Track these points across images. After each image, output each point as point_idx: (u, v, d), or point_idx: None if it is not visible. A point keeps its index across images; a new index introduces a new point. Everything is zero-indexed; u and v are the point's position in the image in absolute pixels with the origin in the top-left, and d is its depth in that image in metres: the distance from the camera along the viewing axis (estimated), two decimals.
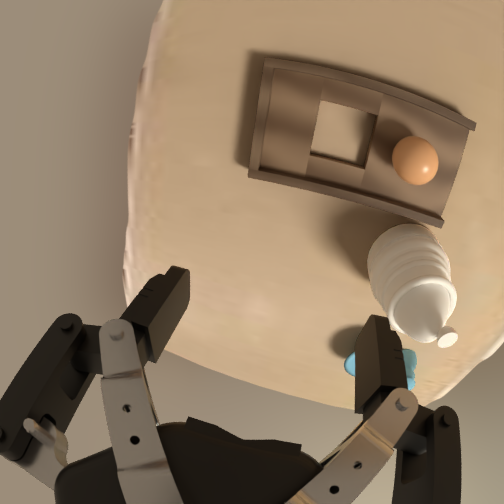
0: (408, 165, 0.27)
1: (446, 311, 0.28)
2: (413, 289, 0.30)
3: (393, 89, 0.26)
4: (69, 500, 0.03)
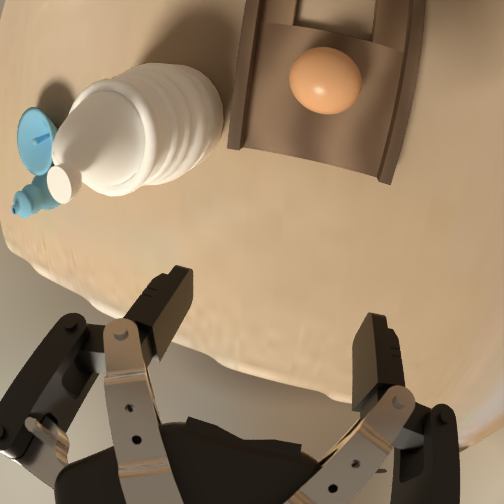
0: (322, 58, 0.17)
1: (106, 173, 0.18)
2: (128, 103, 0.17)
3: (415, 61, 0.17)
4: (69, 500, 0.04)
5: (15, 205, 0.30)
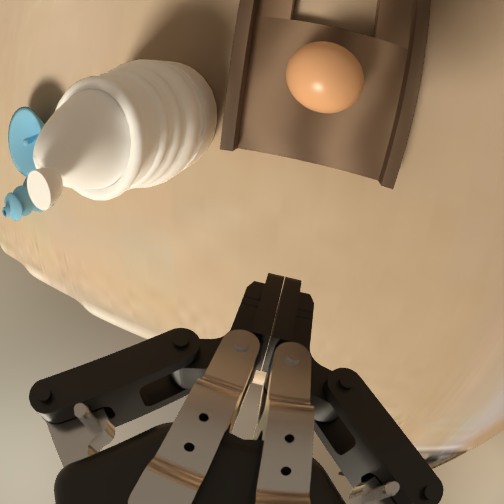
0: (321, 52, 0.15)
1: (89, 176, 0.16)
2: (113, 102, 0.16)
3: (420, 58, 0.16)
4: (68, 487, 0.04)
5: (6, 207, 0.29)
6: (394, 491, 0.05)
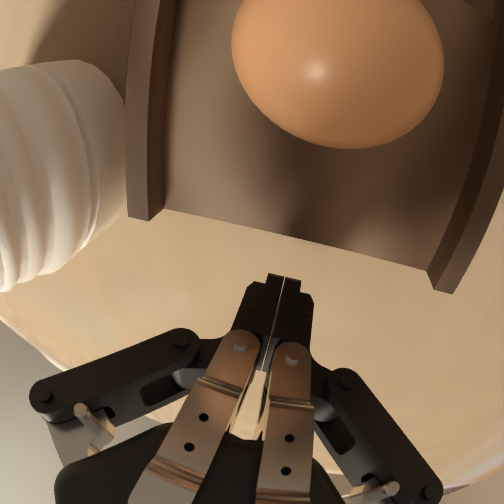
0: None
1: None
2: None
3: None
4: (68, 487, 0.04)
5: None
6: (394, 491, 0.05)
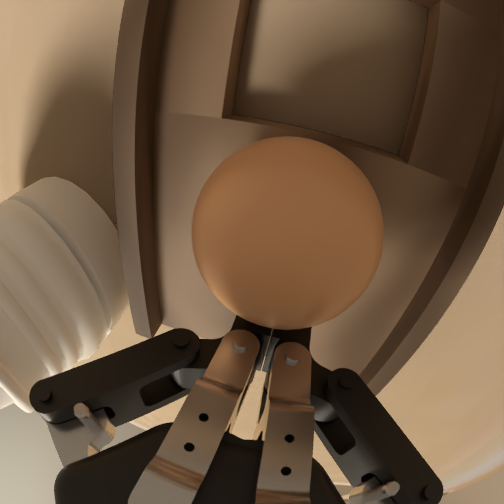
0: (282, 148, 0.07)
1: None
2: None
3: (487, 227, 0.08)
4: (68, 487, 0.04)
5: None
6: (394, 491, 0.05)
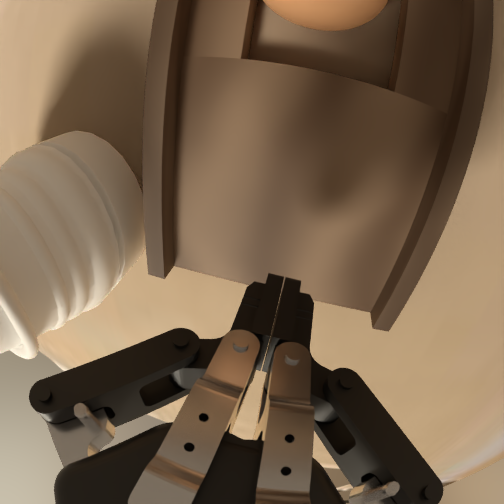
0: None
1: None
2: None
3: (469, 139, 0.09)
4: (68, 487, 0.04)
5: None
6: (394, 491, 0.05)
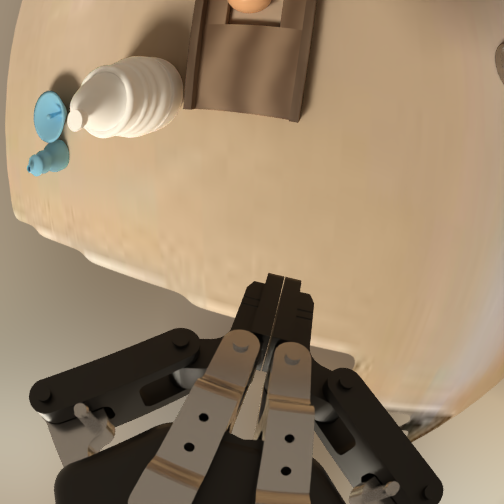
0: None
1: (102, 118, 0.27)
2: (117, 78, 0.26)
3: (308, 34, 0.27)
4: (68, 487, 0.04)
5: (30, 165, 0.40)
6: (394, 491, 0.05)
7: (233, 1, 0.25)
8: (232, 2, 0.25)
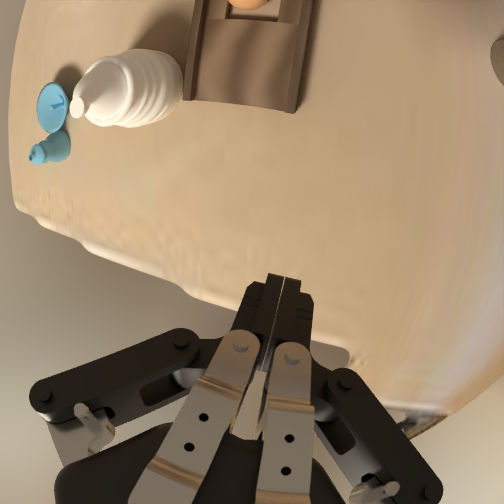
0: None
1: (103, 106, 0.28)
2: (119, 69, 0.27)
3: (304, 28, 0.27)
4: (68, 487, 0.04)
5: (32, 154, 0.40)
6: (394, 491, 0.05)
7: None
8: (231, 0, 0.26)
